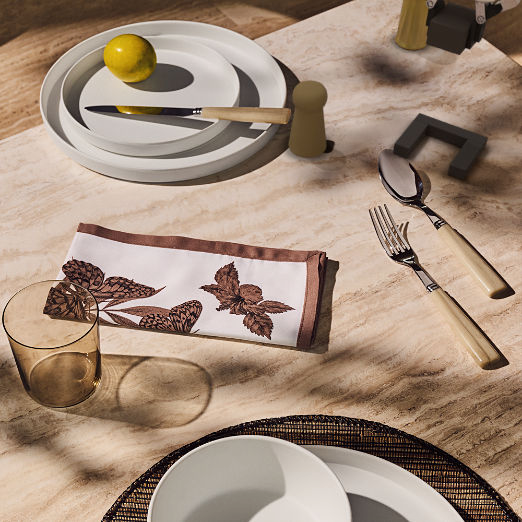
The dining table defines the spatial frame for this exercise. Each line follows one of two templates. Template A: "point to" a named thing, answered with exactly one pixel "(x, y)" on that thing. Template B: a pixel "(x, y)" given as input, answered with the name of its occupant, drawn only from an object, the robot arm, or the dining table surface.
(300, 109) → the olive pawn
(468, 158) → the dark gray u-shaped block
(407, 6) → the vase
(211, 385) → the dining table surface
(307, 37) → the dining table surface
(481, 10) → the robot arm
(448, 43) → the charcoal block
